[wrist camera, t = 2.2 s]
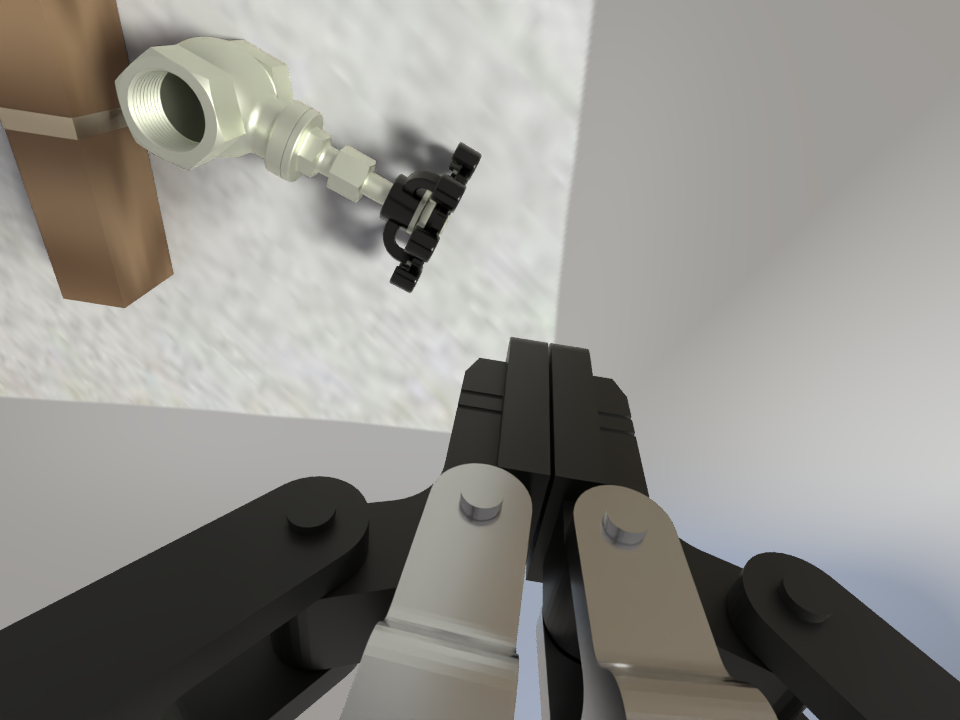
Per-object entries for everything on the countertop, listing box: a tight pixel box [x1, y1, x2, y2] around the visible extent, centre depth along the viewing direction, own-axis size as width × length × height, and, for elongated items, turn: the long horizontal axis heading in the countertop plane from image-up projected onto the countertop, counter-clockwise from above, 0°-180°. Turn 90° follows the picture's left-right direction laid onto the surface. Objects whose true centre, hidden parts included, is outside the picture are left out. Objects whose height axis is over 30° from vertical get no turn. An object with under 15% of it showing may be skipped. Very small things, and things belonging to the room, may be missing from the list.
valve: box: [115, 37, 482, 293], centre depth 21 cm, size 7×7×12 cm
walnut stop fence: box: [0, 0, 173, 308], centre depth 23 cm, size 16×3×4 cm, turn 173°
